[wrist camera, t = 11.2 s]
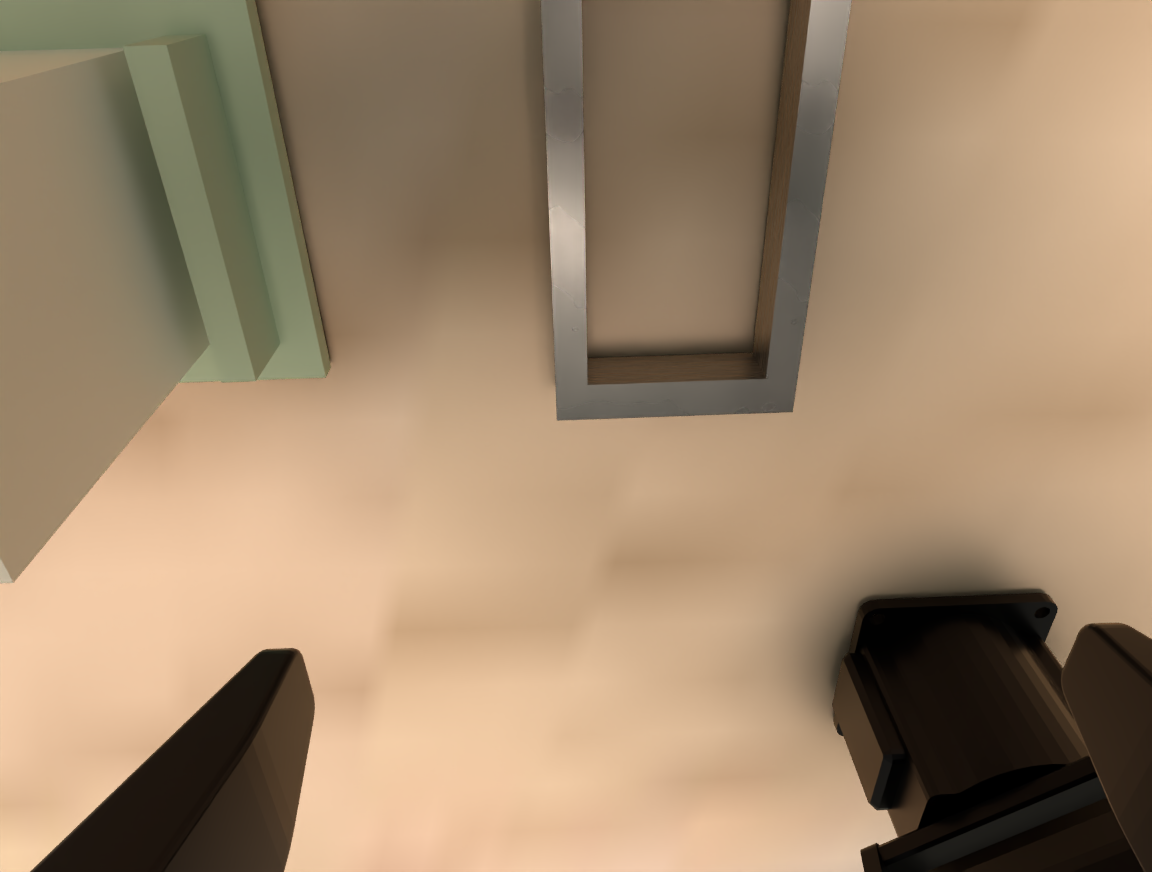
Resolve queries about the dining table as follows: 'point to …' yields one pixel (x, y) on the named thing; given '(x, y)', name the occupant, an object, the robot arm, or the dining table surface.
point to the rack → (787, 248)
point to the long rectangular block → (80, 286)
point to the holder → (209, 168)
